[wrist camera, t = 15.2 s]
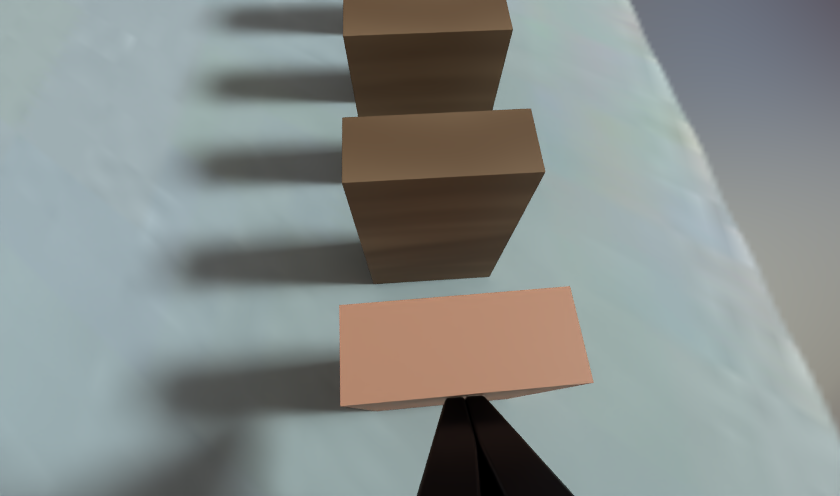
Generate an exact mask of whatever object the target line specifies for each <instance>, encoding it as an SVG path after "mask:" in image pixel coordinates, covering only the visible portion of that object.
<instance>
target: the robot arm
mask: <svg viewBox="0 0 840 496" xmlns="http://www.w3.org/2000/svg"><path fill="white" fill-rule="evenodd" d="M417 496H574V495H573V494H572V493H571V491H570V490H569V489H568V488H567V487H566V486H565V485H564V484H563V483H562V481H561V480H560V479H559V478H558V477H557V476H556V475H555V474H554V473H553V472H552V470H551V469H550V468H549V467H548V466H547V465H546V464H545V463H544V462H543V460H542V459H541V458H540V457H539V456H538V455H537V454H536V453H535V452H534V451H533V449H532V448H531V447H530V446H529V445H528V444H527V443H526V442H525V441H524V439H523V438H522V437H521V436H520V435H519V434H518V433H517V432H516V431H515V430H514V428H513V427H512V426H511V425H510V424H509V423H508V422H507V421H506V420H505V418H504V417H503V416H502V415H501V414H500V413H499V412H498V411H497V410H496V409H495V407H494V406H493V405H492V404H491V403H490V402H489V401H488V400H487V399H486V398H485V397H484V396H482V395H479V396H467V397H466V398H465V399H464V398H463V397H453V398H447V399H446V400H445V402H444V405H443V408H442V412H441V415H440V419H439V422H438V425H437V429H436V432H435V436H434V439H433V442H432V446H431V449H430V453H429V456H428V459H427V463H426V466H425V470H424V473H423V476H422V480H421V483H420V487H419V490H418V493H417Z"/></svg>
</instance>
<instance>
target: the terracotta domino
mask: <svg viewBox="0 0 840 496" xmlns="http://www.w3.org/2000/svg"><path fill="white" fill-rule="evenodd" d="M339 311H340V406H342V407H350V408H357V409H365V410H373V411H383V410H394V409H405V408H415V407H426V406H437V405H444V402H445V400H446V399H447V398H453V397H463V398H464V399H465V398H466V397H467V396H479V395H482V396H484V397H485V398H486V399H487V400H488V401H490V400H500V399H509V398H515V397H520V396H525V395H530V394H536V393H541V392H546V391H552V390H557V389H562V388H568V387H573V386H578V385H584V384H589V383H594V382H593V378H592V374H591V370H590V366H589V362H588V358H587V354H586V350H585V346H584V341H583V337H582V333H581V329H580V325H579V321H578V317H577V313H576V309H575V305H574V301H573V297H572V293H571V288H570V286H568V287H556V288H544V289H532V290H520V291H507V292H495V293H483V294H471V295H459V296H446V297H434V298H422V299H410V300H398V301H385V302H373V303H361V304H349V305H339Z"/></svg>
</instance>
